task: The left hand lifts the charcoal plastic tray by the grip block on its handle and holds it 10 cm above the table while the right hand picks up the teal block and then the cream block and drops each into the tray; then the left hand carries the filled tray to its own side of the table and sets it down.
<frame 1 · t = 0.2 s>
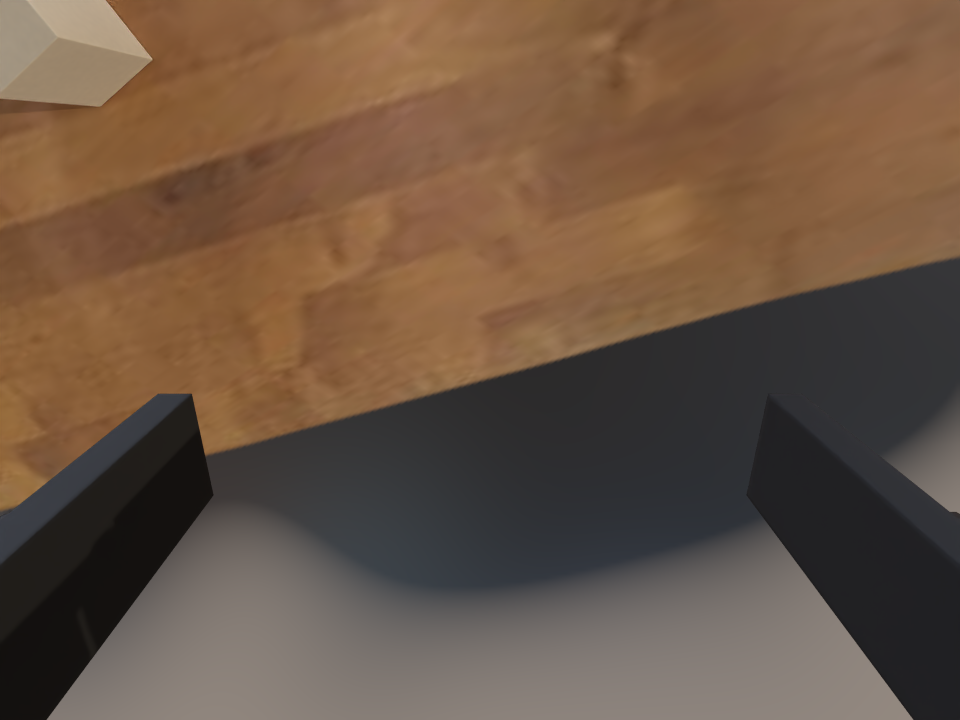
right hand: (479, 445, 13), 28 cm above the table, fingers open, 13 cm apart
cream block: (97, 47, 34), on the table
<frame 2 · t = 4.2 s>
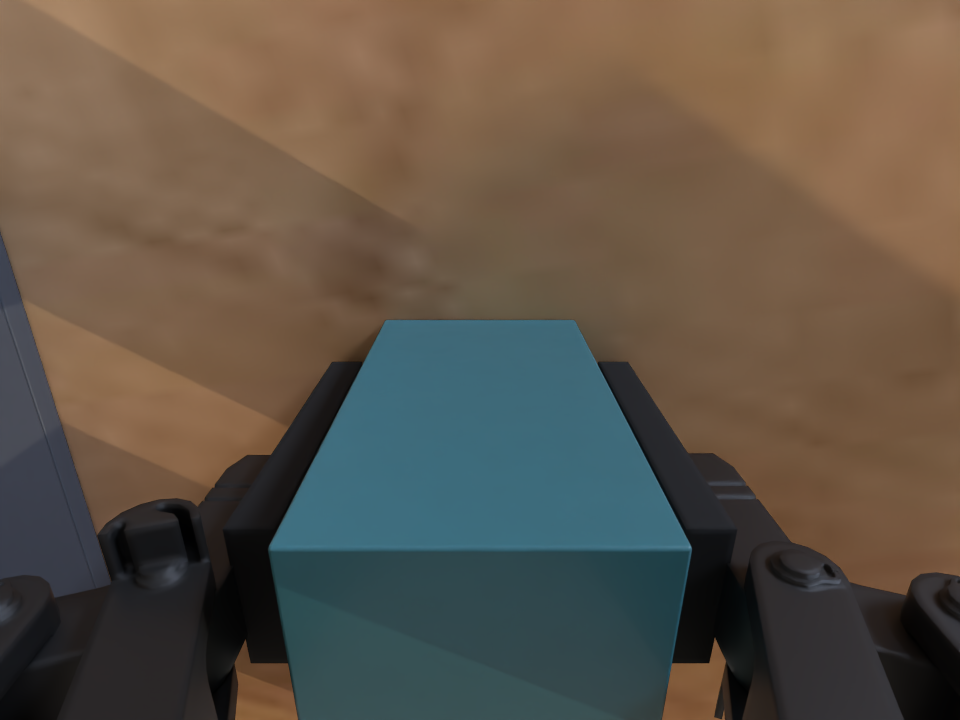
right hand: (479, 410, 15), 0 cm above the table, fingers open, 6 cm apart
teal block: (480, 404, 15), on the table
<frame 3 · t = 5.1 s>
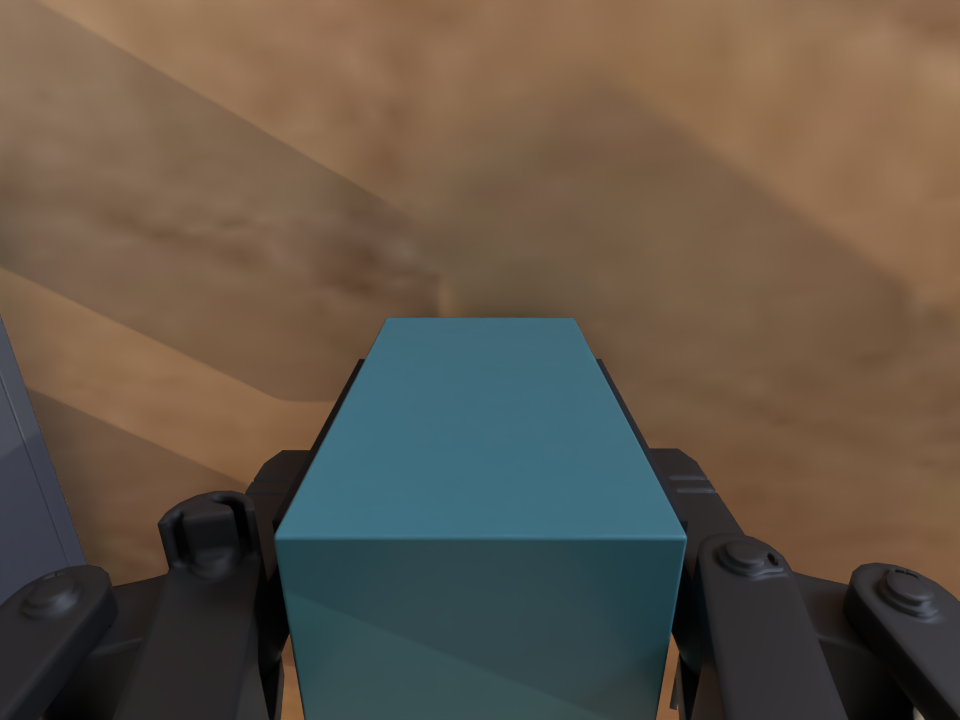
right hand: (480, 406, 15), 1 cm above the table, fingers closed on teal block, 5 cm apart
teal block: (480, 401, 15), point 1 cm above the table, touching right hand
when the right hand's fingers open (15 cm above the table, at t = 9.4 s): teal block drops 5 cm, resting on handled tray.
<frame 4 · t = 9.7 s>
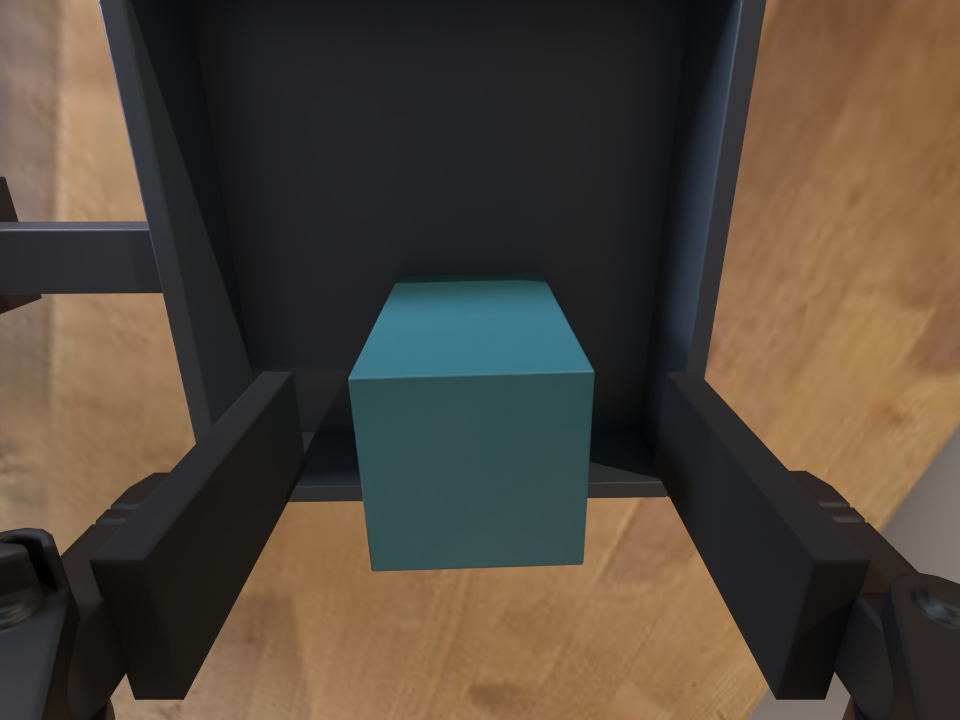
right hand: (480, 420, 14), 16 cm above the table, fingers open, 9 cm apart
teal block: (472, 341, 19), point 10 cm above the table, touching handled tray
handled tray: (447, 238, 19), point 10 cm above the table, touching left hand, teal block
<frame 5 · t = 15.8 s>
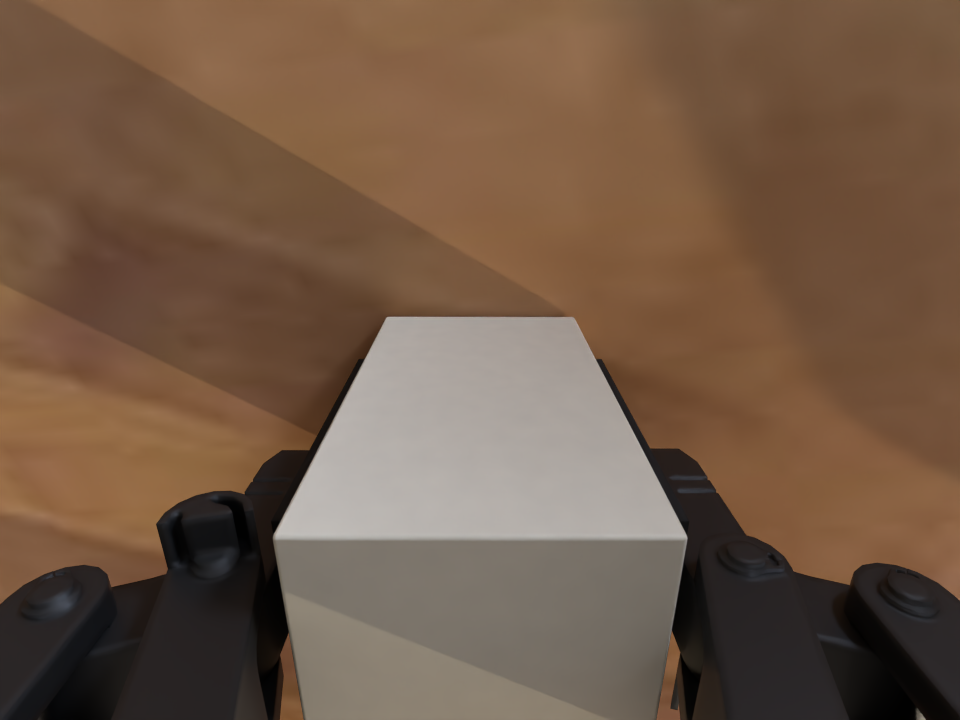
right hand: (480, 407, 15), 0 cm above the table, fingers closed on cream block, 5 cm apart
cream block: (480, 401, 15), on the table, touching right hand
when the right hand's fingers open (15 cm above the table, at t = 19.9 s): cream block drops 5 cm, resting on handled tray.
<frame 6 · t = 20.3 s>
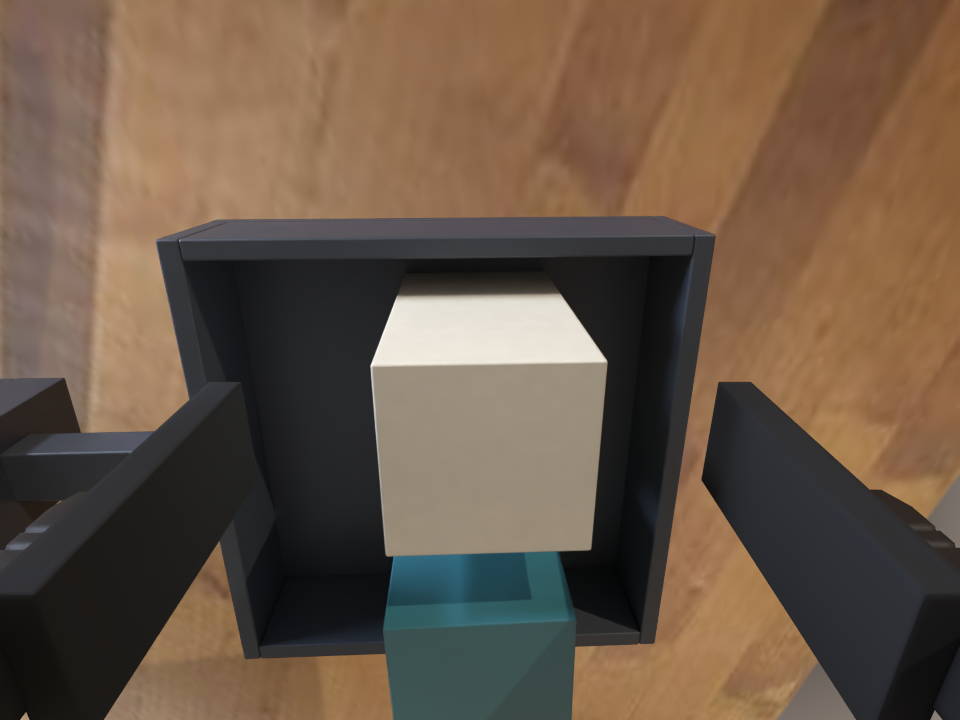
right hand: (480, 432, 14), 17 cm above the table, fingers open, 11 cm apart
teal block: (472, 501, 22), point 10 cm above the table, touching handled tray
handled tray: (448, 417, 22), point 9 cm above the table, touching cream block, left hand, teal block
cream block: (475, 338, 20), point 10 cm above the table, touching handled tray
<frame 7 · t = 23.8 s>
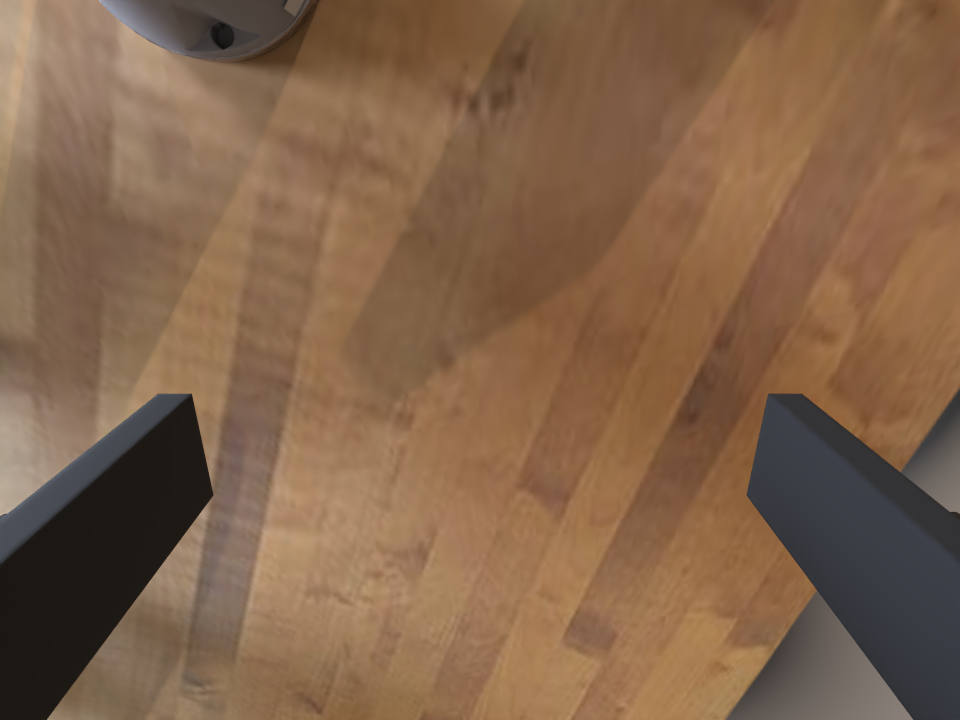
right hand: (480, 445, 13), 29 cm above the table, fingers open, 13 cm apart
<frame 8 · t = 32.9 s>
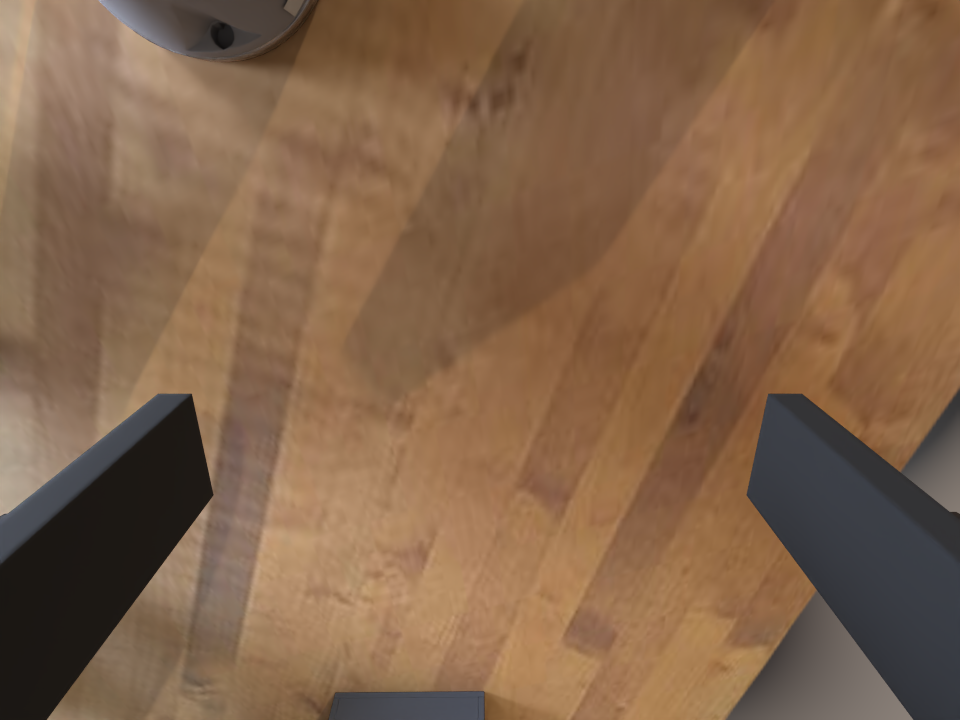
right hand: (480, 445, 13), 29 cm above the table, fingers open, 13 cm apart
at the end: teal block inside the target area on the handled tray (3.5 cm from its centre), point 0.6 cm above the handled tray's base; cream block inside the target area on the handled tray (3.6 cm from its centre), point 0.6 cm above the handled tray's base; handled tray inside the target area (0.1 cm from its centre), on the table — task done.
